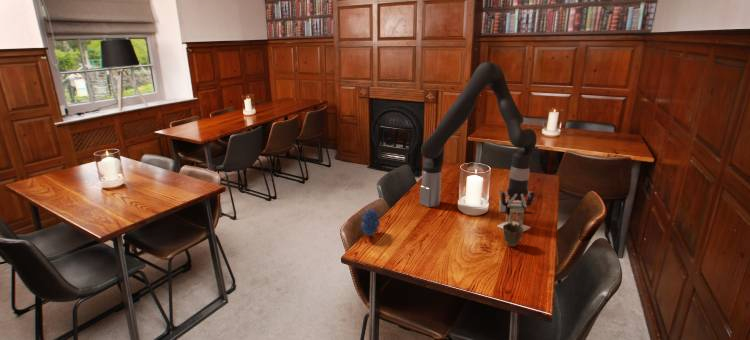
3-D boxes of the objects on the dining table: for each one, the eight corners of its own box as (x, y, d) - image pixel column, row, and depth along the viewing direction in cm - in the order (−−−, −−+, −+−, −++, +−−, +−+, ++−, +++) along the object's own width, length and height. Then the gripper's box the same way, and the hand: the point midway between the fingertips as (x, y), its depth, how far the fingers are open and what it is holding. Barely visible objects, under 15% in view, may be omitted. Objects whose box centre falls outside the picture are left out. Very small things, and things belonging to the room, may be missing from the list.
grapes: (371, 244, 159) (370, 216, 156) (357, 239, 163) (356, 212, 159) (386, 233, 168) (387, 206, 165) (373, 229, 172) (373, 203, 168)
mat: (517, 234, 166) (517, 233, 166) (496, 226, 174) (496, 225, 174) (530, 227, 172) (530, 227, 172) (510, 220, 180) (510, 219, 180)
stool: (506, 229, 174) (503, 208, 178) (519, 229, 173) (516, 208, 178) (513, 221, 165) (509, 200, 169) (526, 221, 165) (522, 200, 169)
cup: (522, 243, 159) (524, 224, 157) (520, 251, 153) (522, 232, 151) (502, 239, 162) (504, 221, 160) (500, 247, 156) (501, 229, 154)
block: (525, 212, 188) (526, 202, 187) (499, 212, 188) (500, 202, 187) (524, 210, 190) (525, 201, 188) (499, 210, 190) (499, 201, 188)
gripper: (533, 174, 169) (528, 210, 175) (499, 174, 170) (495, 210, 175) (540, 180, 162) (535, 218, 167) (504, 179, 162) (500, 217, 168)
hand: (514, 214), depth 171 cm, fingers closed on stool, 5 cm apart
